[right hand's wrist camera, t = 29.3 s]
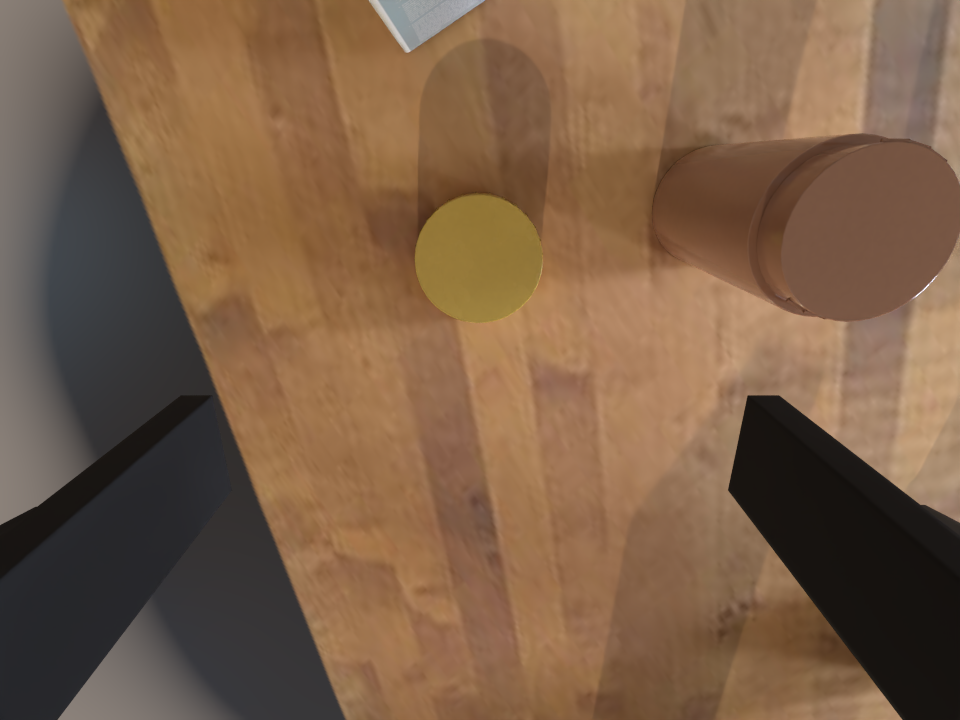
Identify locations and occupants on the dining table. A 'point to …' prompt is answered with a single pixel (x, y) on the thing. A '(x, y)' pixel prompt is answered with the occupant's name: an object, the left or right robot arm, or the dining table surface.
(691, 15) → the dining table surface
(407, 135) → the dining table surface
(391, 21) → the hard drive box
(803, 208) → the jar
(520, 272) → the lid
